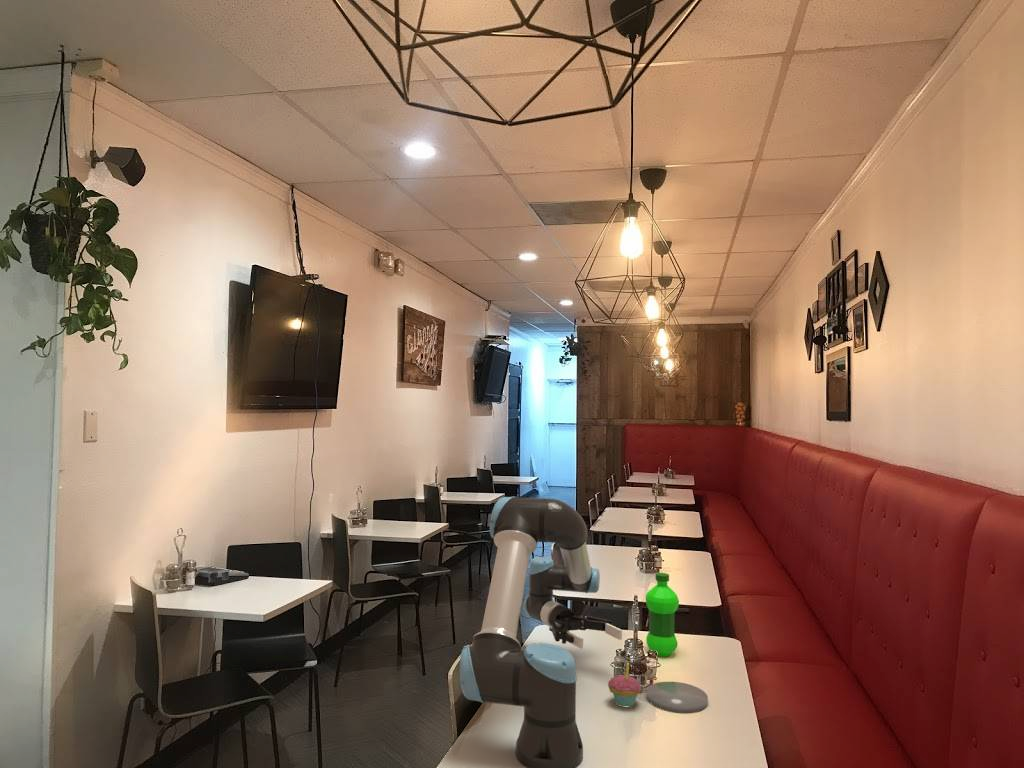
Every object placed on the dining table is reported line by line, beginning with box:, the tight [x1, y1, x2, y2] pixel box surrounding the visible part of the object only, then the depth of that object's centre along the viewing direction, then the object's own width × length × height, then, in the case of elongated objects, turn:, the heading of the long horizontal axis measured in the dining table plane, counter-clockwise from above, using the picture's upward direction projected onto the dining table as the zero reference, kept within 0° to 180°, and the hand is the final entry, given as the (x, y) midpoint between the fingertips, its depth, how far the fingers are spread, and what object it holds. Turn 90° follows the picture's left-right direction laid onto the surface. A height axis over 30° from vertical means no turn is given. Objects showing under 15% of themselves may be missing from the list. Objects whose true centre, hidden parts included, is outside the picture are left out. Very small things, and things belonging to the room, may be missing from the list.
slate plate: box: [645, 681, 709, 714], centre depth 183 cm, size 16×16×2 cm
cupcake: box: [607, 660, 642, 707], centre depth 181 cm, size 9×8×12 cm
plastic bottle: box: [645, 572, 680, 658], centre depth 217 cm, size 10×10×25 cm
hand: (601, 639), depth 189 cm, fingers open, 13 cm apart
